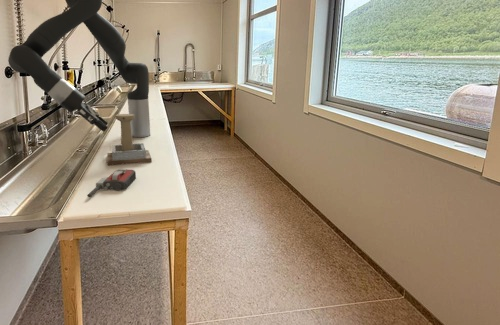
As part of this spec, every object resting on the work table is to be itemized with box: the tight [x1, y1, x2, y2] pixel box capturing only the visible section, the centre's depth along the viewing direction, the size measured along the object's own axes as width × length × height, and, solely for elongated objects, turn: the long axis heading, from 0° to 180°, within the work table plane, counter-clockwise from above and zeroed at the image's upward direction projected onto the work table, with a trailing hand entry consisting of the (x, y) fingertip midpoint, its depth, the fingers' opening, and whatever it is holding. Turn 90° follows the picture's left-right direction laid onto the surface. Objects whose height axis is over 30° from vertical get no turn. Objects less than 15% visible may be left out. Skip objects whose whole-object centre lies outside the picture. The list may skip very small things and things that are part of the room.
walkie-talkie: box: [86, 168, 137, 198], centre depth 111 cm, size 9×4×20 cm
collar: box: [111, 142, 147, 161], centre depth 139 cm, size 11×11×3 cm
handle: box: [115, 113, 134, 151], centre depth 138 cm, size 5×6×15 cm
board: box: [106, 149, 153, 166], centre depth 140 cm, size 12×15×2 cm
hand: (106, 127), depth 134 cm, fingers open, 8 cm apart
